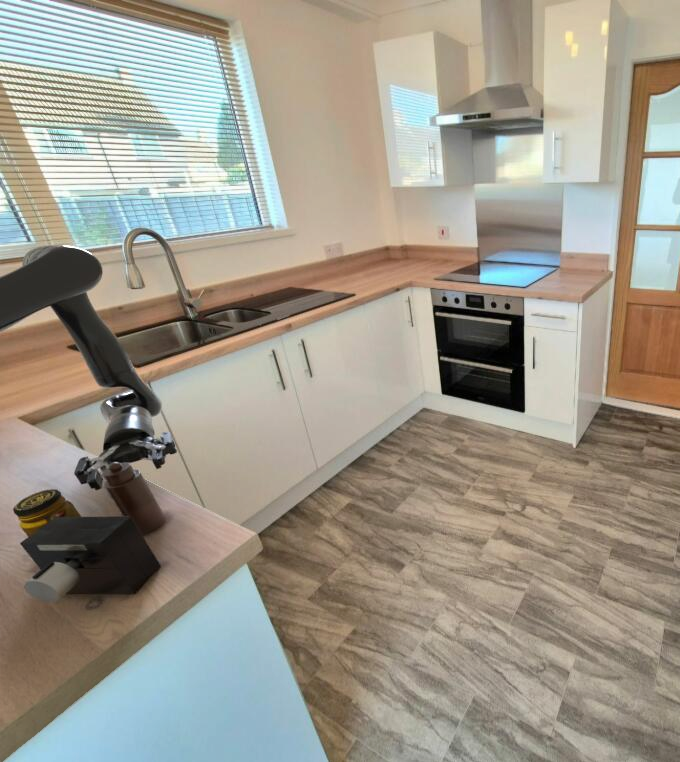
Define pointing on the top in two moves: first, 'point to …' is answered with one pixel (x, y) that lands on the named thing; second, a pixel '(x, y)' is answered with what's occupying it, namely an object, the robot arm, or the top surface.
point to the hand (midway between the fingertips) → (127, 474)
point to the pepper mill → (133, 496)
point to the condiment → (42, 510)
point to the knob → (53, 581)
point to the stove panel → (96, 552)
